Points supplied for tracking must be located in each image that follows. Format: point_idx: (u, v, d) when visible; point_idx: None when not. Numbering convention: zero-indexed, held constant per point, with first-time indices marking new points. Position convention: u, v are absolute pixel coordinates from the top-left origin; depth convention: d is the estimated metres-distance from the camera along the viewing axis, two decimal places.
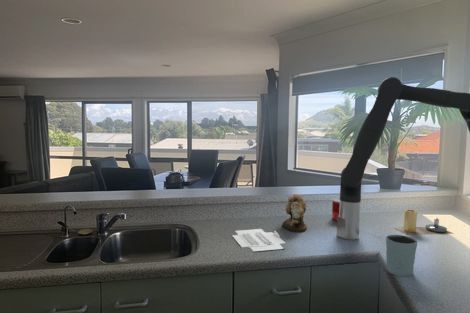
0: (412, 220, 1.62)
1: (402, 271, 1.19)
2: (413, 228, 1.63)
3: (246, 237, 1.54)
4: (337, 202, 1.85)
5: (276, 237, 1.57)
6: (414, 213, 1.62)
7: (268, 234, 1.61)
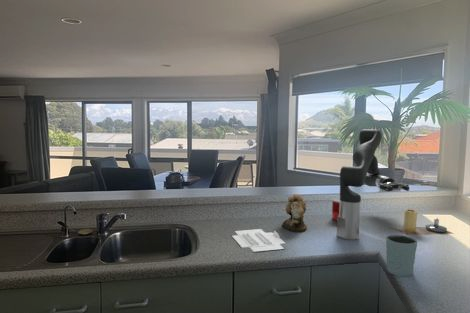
0: (412, 220, 1.62)
1: (402, 271, 1.19)
2: (413, 228, 1.63)
3: (246, 237, 1.54)
4: (337, 202, 1.85)
5: (276, 237, 1.56)
6: (414, 213, 1.62)
7: (268, 234, 1.61)
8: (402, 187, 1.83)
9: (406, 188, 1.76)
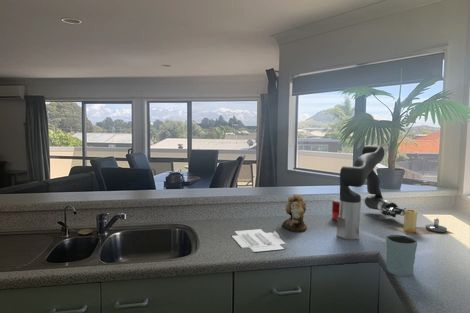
0: (412, 220, 1.62)
1: (402, 271, 1.19)
2: (413, 228, 1.63)
3: (246, 237, 1.54)
4: (337, 202, 1.85)
5: (276, 238, 1.56)
6: (414, 213, 1.62)
7: (268, 234, 1.61)
8: None
9: None
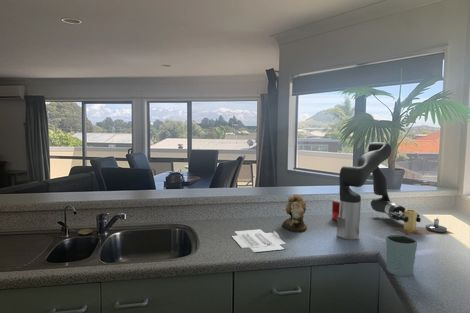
0: (412, 220, 1.62)
1: (402, 271, 1.19)
2: (413, 228, 1.63)
3: (246, 238, 1.54)
4: (337, 202, 1.85)
5: (276, 238, 1.56)
6: (414, 213, 1.62)
7: (268, 234, 1.61)
8: None
9: (417, 219, 1.64)
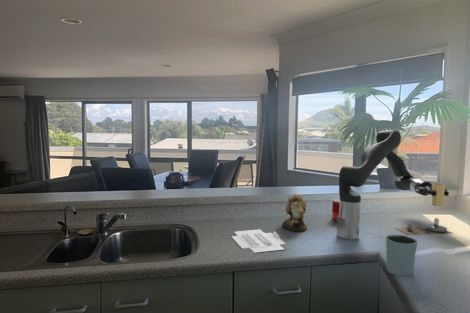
0: (440, 194, 1.63)
1: (402, 271, 1.19)
2: (441, 202, 1.64)
3: (246, 238, 1.53)
4: (337, 202, 1.85)
5: (276, 238, 1.56)
6: (442, 187, 1.63)
7: (267, 235, 1.60)
8: None
9: (445, 193, 1.64)
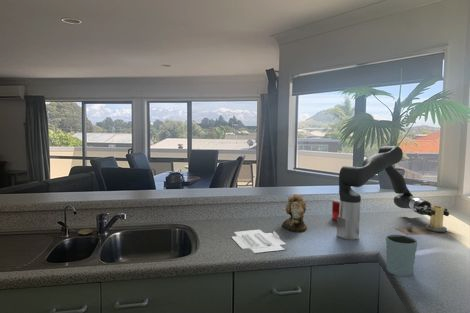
0: (439, 216, 1.64)
1: (402, 271, 1.19)
2: (440, 224, 1.65)
3: (246, 238, 1.53)
4: (337, 202, 1.85)
5: (276, 238, 1.56)
6: (441, 209, 1.64)
7: (267, 235, 1.60)
8: None
9: (445, 213, 1.66)
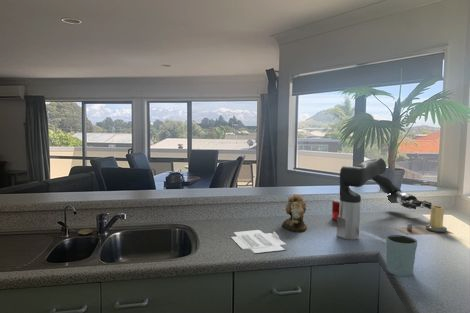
0: (439, 216, 1.64)
1: (402, 271, 1.19)
2: (440, 224, 1.65)
3: (246, 238, 1.52)
4: (337, 202, 1.85)
5: (275, 238, 1.55)
6: (441, 209, 1.64)
7: (267, 235, 1.60)
8: (424, 205, 1.86)
9: (429, 206, 1.79)
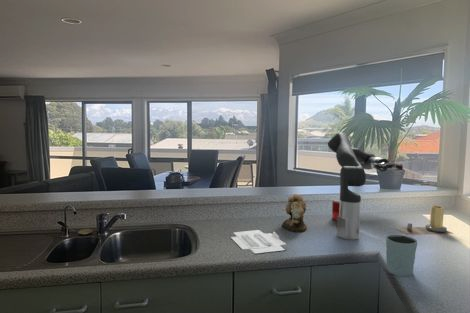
0: (439, 216, 1.64)
1: (402, 271, 1.19)
2: (440, 224, 1.65)
3: (245, 239, 1.52)
4: (337, 202, 1.85)
5: (275, 238, 1.55)
6: (441, 209, 1.64)
7: (267, 235, 1.59)
8: (396, 167, 1.90)
9: (400, 167, 1.82)
